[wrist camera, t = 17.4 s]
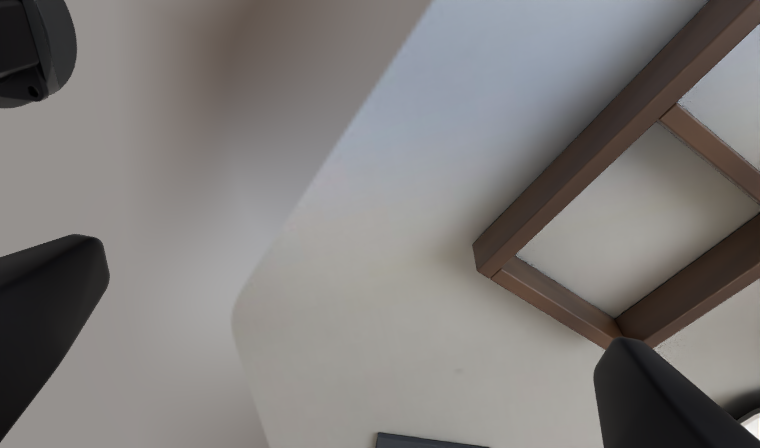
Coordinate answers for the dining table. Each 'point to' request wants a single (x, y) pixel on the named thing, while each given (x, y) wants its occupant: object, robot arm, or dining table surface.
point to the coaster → (414, 442)
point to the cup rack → (602, 147)
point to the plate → (752, 422)
